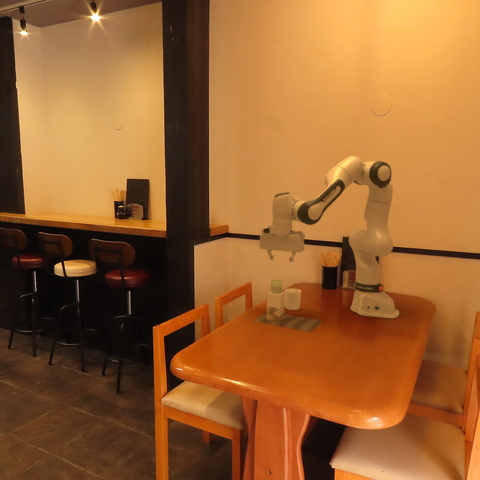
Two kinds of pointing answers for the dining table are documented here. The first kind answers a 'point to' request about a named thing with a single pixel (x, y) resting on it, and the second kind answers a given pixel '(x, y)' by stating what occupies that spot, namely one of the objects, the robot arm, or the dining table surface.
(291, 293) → the white cup
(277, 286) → the green cylinder
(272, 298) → the tower top block
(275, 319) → the tower base block
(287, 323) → the walnut board
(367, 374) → the dining table surface
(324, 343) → the dining table surface
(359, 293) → the robot arm
